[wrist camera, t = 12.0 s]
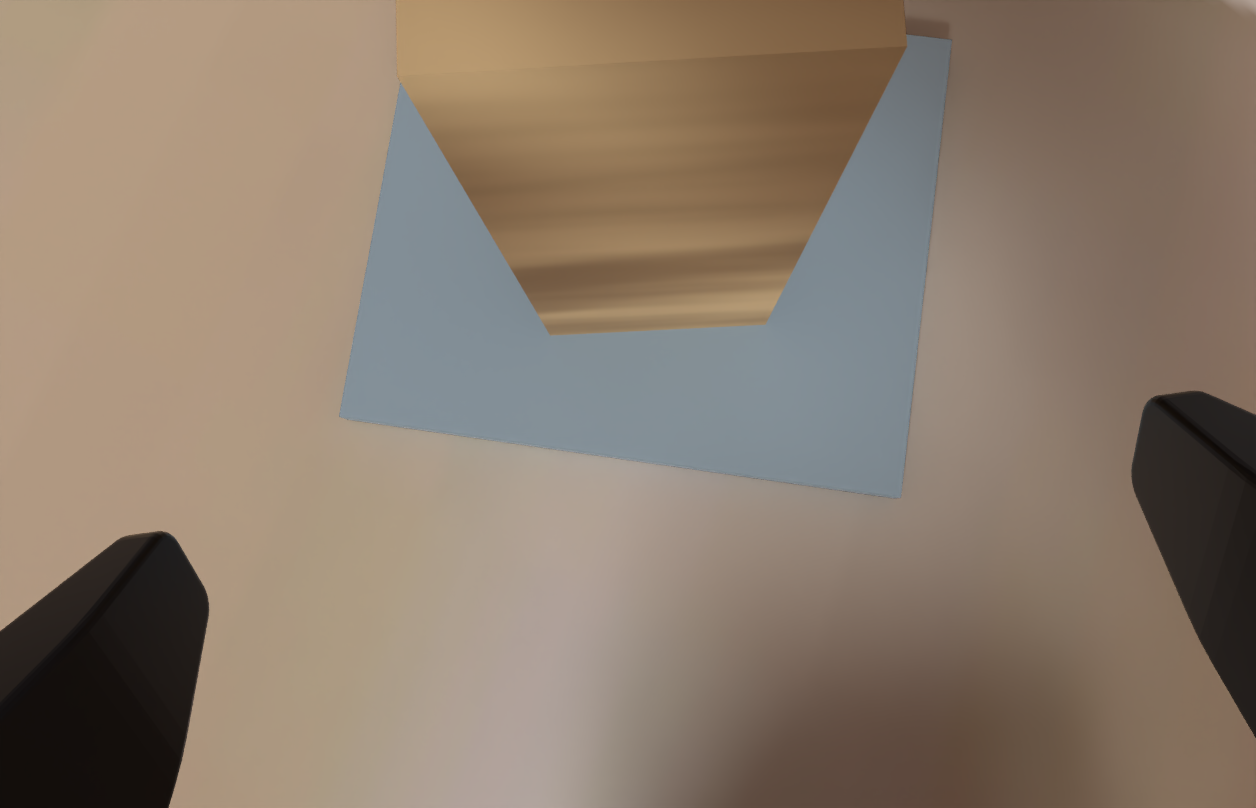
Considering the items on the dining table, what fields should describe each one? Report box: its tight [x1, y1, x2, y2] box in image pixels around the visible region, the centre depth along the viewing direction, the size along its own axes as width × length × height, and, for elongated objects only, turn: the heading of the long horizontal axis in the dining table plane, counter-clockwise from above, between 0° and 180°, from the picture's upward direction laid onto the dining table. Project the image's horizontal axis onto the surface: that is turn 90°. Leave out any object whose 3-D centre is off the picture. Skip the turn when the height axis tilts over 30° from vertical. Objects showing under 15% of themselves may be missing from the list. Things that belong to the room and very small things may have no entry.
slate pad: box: [339, 34, 952, 498], centre depth 23 cm, size 11×13×1 cm
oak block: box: [396, 0, 907, 336], centre depth 16 cm, size 5×5×13 cm
